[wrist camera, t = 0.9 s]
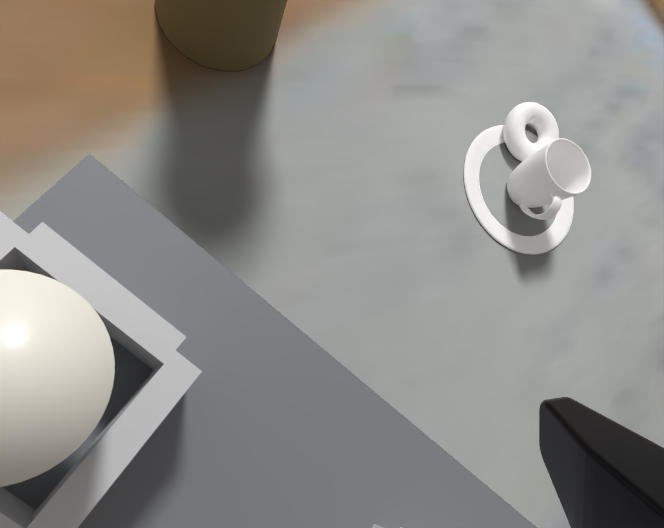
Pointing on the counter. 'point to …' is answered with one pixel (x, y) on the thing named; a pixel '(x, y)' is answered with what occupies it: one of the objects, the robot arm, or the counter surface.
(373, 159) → the counter surface
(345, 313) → the counter surface
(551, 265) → the counter surface
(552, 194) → the teacup and saucer
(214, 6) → the cork
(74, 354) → the cream plunger
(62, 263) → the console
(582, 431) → the robot arm
